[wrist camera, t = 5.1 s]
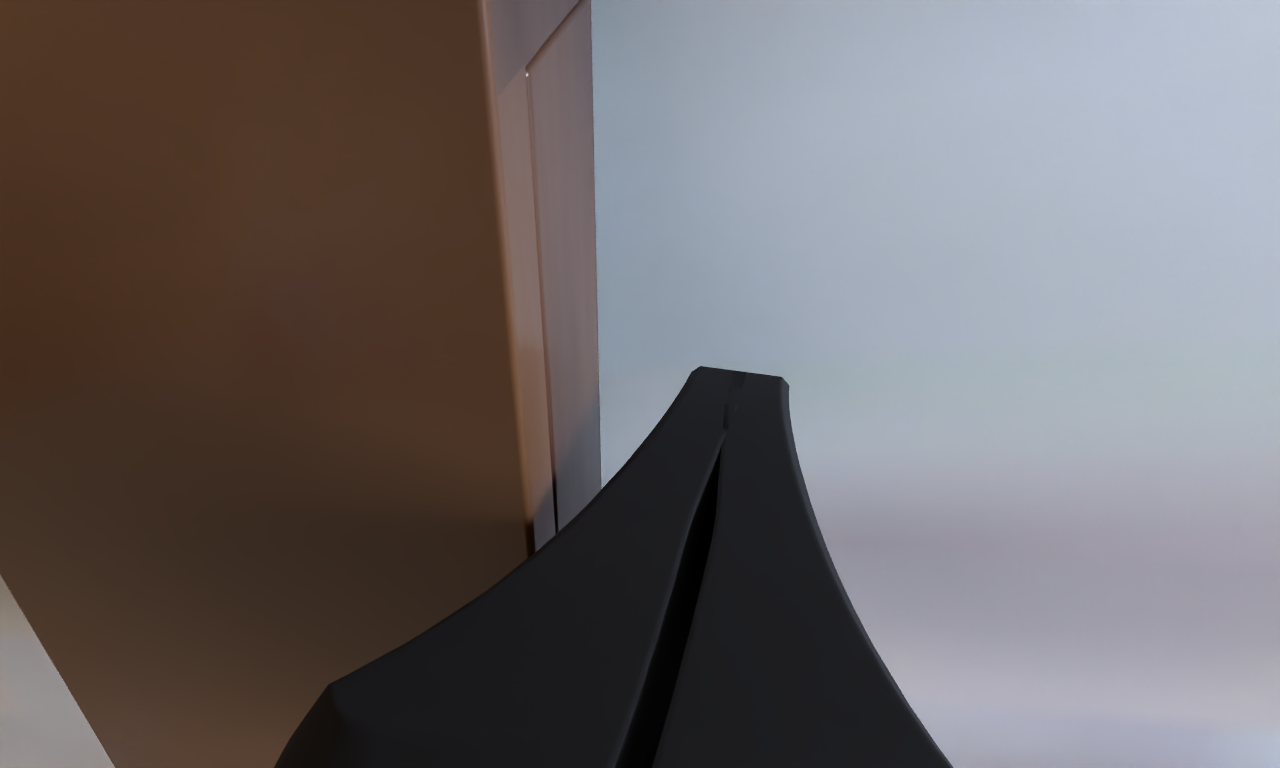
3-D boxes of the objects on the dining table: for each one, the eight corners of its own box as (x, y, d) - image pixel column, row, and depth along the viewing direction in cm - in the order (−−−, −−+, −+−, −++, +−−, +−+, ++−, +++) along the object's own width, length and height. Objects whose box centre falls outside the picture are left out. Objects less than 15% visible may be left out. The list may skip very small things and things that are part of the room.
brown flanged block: (634, 651, 19) (565, 921, 15) (294, 588, 20) (147, 825, 16) (641, -198, 10) (480, -71, 6) (32, -224, 11) (-430, -132, 7)
